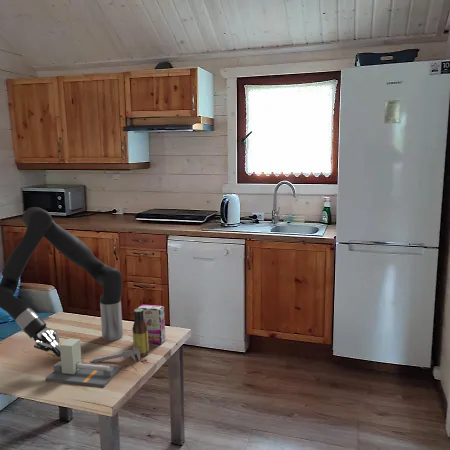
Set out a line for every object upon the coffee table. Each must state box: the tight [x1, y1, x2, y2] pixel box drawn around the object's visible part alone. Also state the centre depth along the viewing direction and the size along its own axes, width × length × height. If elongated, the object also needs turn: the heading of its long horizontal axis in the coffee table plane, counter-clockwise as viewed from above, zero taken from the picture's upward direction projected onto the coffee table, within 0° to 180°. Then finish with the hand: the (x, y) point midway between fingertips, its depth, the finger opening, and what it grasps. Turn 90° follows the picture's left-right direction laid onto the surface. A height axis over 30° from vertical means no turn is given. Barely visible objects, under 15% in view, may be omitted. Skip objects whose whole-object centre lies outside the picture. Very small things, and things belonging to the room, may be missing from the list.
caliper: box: [89, 346, 141, 363], centre depth 184 cm, size 20×1×6 cm, turn 93°
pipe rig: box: [45, 361, 122, 388], centre depth 173 cm, size 14×24×4 cm, turn 78°
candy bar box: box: [137, 304, 166, 345], centre depth 202 cm, size 11×5×16 cm, turn 74°
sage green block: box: [59, 338, 83, 374], centre depth 173 cm, size 6×5×12 cm
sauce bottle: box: [131, 307, 150, 357], centre depth 189 cm, size 6×6×20 cm
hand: (61, 354), depth 174 cm, fingers closed
